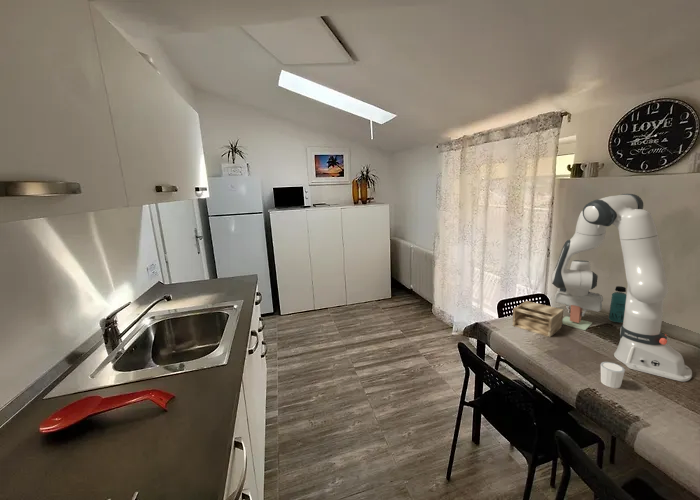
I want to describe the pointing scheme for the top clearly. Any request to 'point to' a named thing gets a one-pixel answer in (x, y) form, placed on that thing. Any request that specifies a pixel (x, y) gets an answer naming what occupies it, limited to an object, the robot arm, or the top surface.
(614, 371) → the white cup
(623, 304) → the beverage bottle
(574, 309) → the block
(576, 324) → the zone pad
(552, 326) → the wooden crate
